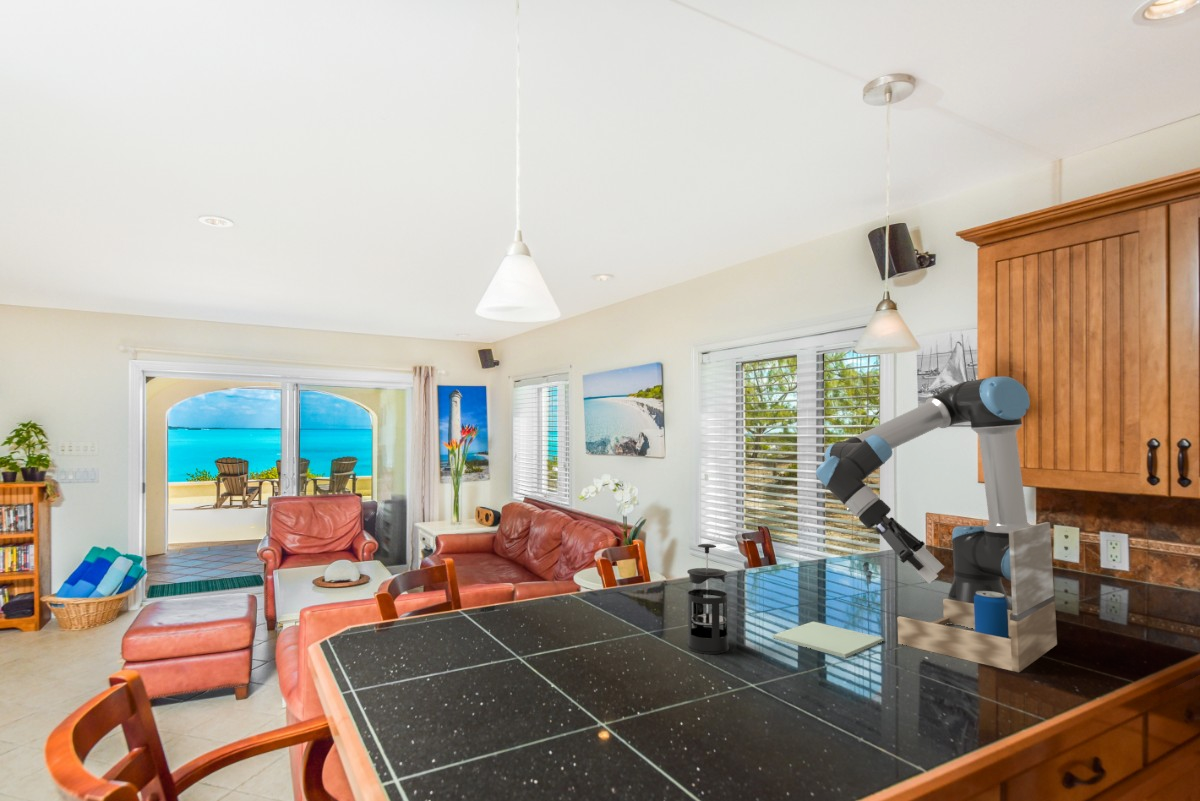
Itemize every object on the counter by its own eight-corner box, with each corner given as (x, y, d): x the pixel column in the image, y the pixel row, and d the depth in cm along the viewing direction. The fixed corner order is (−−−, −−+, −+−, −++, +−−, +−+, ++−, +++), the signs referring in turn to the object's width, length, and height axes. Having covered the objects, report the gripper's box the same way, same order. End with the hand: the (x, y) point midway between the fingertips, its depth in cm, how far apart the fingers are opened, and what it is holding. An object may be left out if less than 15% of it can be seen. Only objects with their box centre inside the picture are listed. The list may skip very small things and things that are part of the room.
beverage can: (999, 643, 143) (997, 590, 144) (1015, 652, 137) (1012, 597, 138) (970, 642, 144) (968, 590, 145) (984, 651, 138) (982, 596, 138)
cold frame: (898, 643, 143) (894, 521, 145) (945, 622, 161) (941, 513, 163) (1019, 672, 124) (1013, 532, 127) (1057, 644, 143) (1051, 522, 145)
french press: (737, 653, 135) (736, 547, 137) (697, 656, 133) (697, 548, 135) (715, 637, 146) (714, 539, 148) (677, 640, 144) (677, 540, 146)
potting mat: (772, 638, 146) (772, 634, 146) (813, 624, 158) (813, 621, 158) (845, 658, 133) (844, 654, 133) (883, 641, 144) (883, 637, 144)
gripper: (867, 513, 169) (931, 576, 159) (846, 522, 148) (917, 594, 138) (888, 495, 166) (954, 557, 156) (869, 501, 146) (943, 573, 136)
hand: (937, 575), depth 147 cm, fingers open, 13 cm apart
